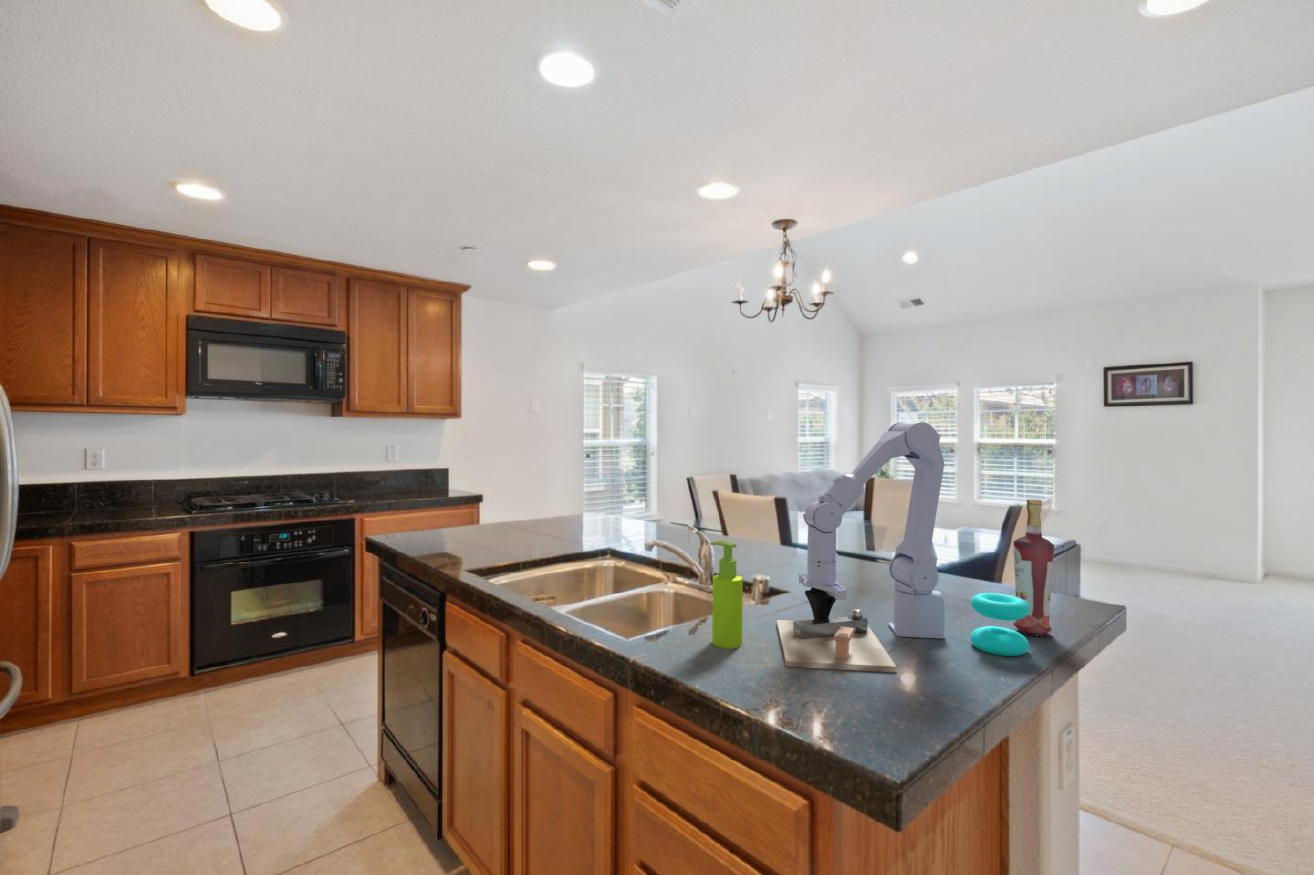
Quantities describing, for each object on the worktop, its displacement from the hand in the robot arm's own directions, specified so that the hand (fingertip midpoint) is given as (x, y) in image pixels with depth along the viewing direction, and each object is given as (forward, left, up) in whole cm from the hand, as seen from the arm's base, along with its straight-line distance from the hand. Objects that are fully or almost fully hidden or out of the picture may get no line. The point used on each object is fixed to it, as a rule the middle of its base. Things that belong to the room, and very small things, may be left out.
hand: (821, 625), depth 128 cm
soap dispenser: (+20, +7, -2) cm, 21 cm away
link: (-2, +2, -1) cm, 3 cm away
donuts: (-33, +3, -2) cm, 34 cm away
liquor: (-44, -8, -2) cm, 45 cm away
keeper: (-2, +13, -1) cm, 13 cm away
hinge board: (-1, +6, -2) cm, 7 cm away
